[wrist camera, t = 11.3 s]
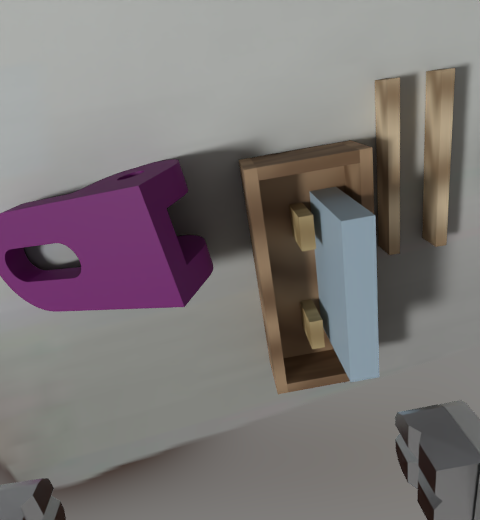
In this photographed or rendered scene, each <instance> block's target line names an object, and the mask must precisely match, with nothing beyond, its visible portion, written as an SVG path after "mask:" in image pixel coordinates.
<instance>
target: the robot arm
mask: <svg viewBox="0 0 480 520" xmlns="http://www.w3.org/2000/svg"><path fill="white" fill-rule="evenodd" d="M395 425H396V427H397V429H398V431H399V433H400V434H399V435H398V436H397V438H396V439H395V443H396V453H397V457H398V461H399V464H400V467H401V469H402V472H403V474H404V476H405V478H406V480H407V482H408V483H409V484H411V485H412V486H414V487H415V488H417V489H418V500H417V501H418V503H419V505H420V507H421V509H422V510H423V513H424V515H425V516H426V518H427V520H480V419H479V418H478V417H477V415H476V414H475V413H474V412H473V410H472V409H471V408H470V407H469V406H468V405H467V403H465V402H464V401H462V400H460V401H454V402H449V403H444V404H440V405H432V406H427V407H422V408H417V409H412V410H407V411H402V412H398V413H397V414H396V417H395ZM53 489H54V487H53V486H52V484H51V482H50V480H49V479H48V478H42V479H36V480H30V481H23V482H17V483H11V484H4V485H0V520H66V517H65V511H64V507H63V506H62V503H61V501H59V500H57V499H56V498H54V497H52V496H51V495H52V492H53Z"/></svg>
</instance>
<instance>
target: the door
mask: <svg viewBox="0 0 480 520" xmlns="http://www.w3.org/2000/svg"><path fill="white" fill-rule="evenodd" d="M309 192H310V203H311V213H312V214H313V218H314V230H315V241H316V249H315V260H316V271H317V282H318V293H319V304H320V316H321V318H322V320H323V328H324V330H325V332H326V334H327V336H328V338H329V340H330V342H331V344H332V346H333V348H334V350H335V352H336V354H337V356H338V358H339V360H340V362H341V364H342V366H343V368H344V370H345V372H346V374H347V376H348V378H349V380H350V382H355V381H360V380H366V379H371V378H376V377H379V344H378V301H377V259H376V216H375V215H374V214H373V213H372V212H370V211H369V210H368V209H366V208H365V207H363V206H362V205H361V204H359V203H358V202H356V201H355V200H354V199H352V198H351V197H350V196H348V195H347V194H345V193H344V192H343V191H341V190H340V189H338V188H337V187H331V188H325V189H320V190H314V191H309Z"/></svg>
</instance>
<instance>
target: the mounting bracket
mask: <svg viewBox="0 0 480 520" xmlns="http://www.w3.org/2000/svg"><path fill="white" fill-rule="evenodd" d="M187 192H188V188H187V185H186V182H185V179H184V176H183V173H182V169H181V166H180V163H179V160H177V159H170V160H163V161H158V162H154V163H150V164H147V165H143V166H140V167H137V168H133V169H130V170H126V171H123V172H120V173H117V174H114V175H112V176H109V177H107V178H104V179H102V180H99V181H97V182H95V183H93V184H91V185H89V186H87V187H85V188H83V189H81V190H78V191H76V192H73V193H70V194H66V195H62V196H57V197H52V198H47V199H42V200H38V201H33V202H28V203H24V204H21V205H18V206H16V207H14V208H12V209H9V210H7V211H5V212H3V213H0V276H1V277H2V278H3V280H4V281H5V282H6V283H7V285H8V286H9V287H10V288H11V289H12V290H13V291H14V292H15V293H16V294H18V295H19V296H20V297H21V298H23V299H24V300H25V301H27V302H29V303H30V304H32V305H34V306H36V307H38V308H41V309H44V310H48V311H82V310H110V309H138V308H166V307H185V306H186V304H187V303H188V302H189V301H190V299H191V298H192V297H193V296H194V294H195V293H196V292H197V291H198V290H199V288H200V287H201V286H202V285H203V283H204V282H205V281H206V280H207V278H208V277H209V276H210V275H211V273H212V271H213V263H212V260H211V257H210V254H209V251H208V248H207V245H206V242H205V240H204V238H202V237H200V236H196V235H184V236H178V237H177V236H176V233H175V231H174V228H173V225H172V222H171V220H170V217H169V214H168V211H167V208H168V207H169V206H171V205H172V204H173V203H175V202H176V201H177V200H179V199H180V198H181V197H183V196H184V195H185V194H186V193H187ZM52 243H61V244H64V245H66V246H68V247H69V248H70V249H72V250H73V251H74V253H75V254H76V255H77V257H78V258H79V261H80V263H81V267H76V268H66V269H55V270H41V269H38V268H37V267H35V266H34V265H33V264H32V263H31V262H30V261H29V260H28V258H27V257H26V255H25V252H24V247H31V246H38V245H45V244H52Z"/></svg>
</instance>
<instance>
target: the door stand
mask: <svg viewBox="0 0 480 520" xmlns="http://www.w3.org/2000/svg"><path fill="white" fill-rule="evenodd" d="M454 81H455V68H450V69H439V70H433V71H427V72H426V106H425V148H424V189H423V230H422V238H423V239H425V240H426V241H428V242H429V243H431V244H432V245H434V246H435V247H437V246H443V245H446V241H447V221H448V201H449V181H450V161H451V141H452V121H453V101H454ZM375 108H376V153H377V199H378V244H379V246H380V247H381V248H382V249H383V250H384V251H385V252H386V253H387V254H389V255H393V254H398V253H400V78H386V79H381V80H375Z"/></svg>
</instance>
